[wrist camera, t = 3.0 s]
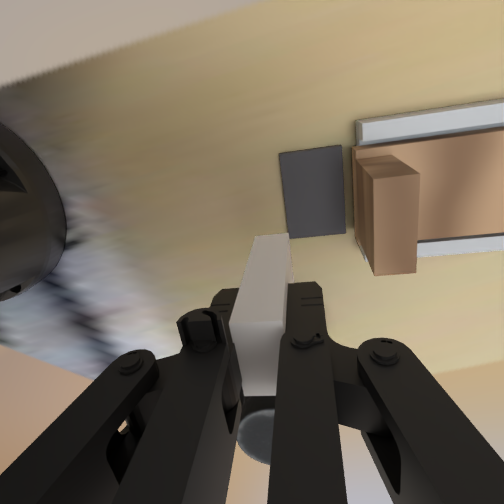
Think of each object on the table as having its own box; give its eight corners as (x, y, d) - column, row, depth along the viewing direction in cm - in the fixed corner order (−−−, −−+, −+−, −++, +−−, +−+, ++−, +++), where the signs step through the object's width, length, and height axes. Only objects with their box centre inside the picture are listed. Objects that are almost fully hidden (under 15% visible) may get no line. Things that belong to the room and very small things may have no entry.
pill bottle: (274, 274, 27) (262, 380, 17) (336, 313, 28) (359, 435, 18) (233, 325, 30) (202, 443, 20) (292, 360, 31) (291, 489, 21)
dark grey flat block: (289, 235, 26) (289, 238, 25) (279, 153, 23) (279, 154, 23) (344, 230, 25) (345, 233, 24) (340, 144, 23) (341, 145, 22)
